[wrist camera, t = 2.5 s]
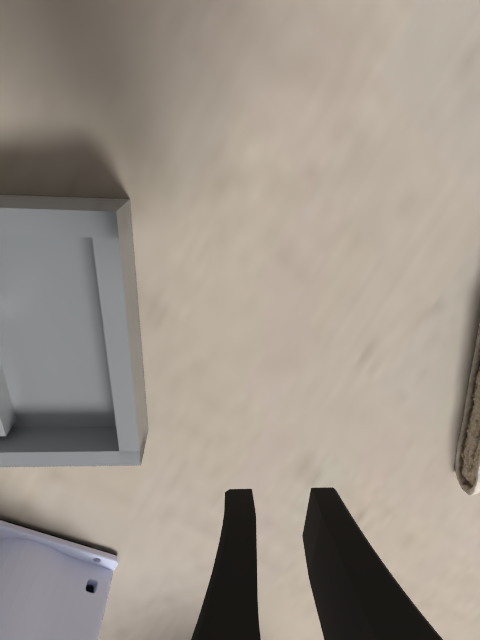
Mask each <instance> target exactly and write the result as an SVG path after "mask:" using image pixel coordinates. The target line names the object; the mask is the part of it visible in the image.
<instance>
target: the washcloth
mask: <svg viewBox="0 0 480 640" xmlns="http://www.w3.org/2000/svg"><path fill="white" fill-rule="evenodd" d="M455 470H456V476H457V479H458V481H459V484H460V486H461V488H462V489H463V491H465V492H466V493H467V494H468V495H474V494H479V495H480V324H479V329H478V336H477V341H476V347H475V350H474V357H473V362H472V367H471V374H470V378H469V385H468V391H467V397H466V403H465V409H464V418H463V422H462V428H461V433H460V436H459V441H458V447H457V453H456V458H455Z"/></svg>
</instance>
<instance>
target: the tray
mask: <svg viewBox="0 0 480 640" xmlns="http://www.w3.org/2000/svg"><path fill="white" fill-rule="evenodd" d="M147 434H148V421H147V408H146V396H145V383H144V371H143V358H142V346H141V333H140V321H139V308H138V296H137V283H136V271H135V258H134V246H133V233H132V221H131V208H130V199H113V198H84V197H56V196H27V195H0V467H51V466H127V465H141V462H142V457H143V453H144V448H145V443H146V439H147Z"/></svg>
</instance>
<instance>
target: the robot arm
mask: <svg viewBox="0 0 480 640" xmlns="http://www.w3.org/2000/svg"><path fill="white" fill-rule="evenodd" d="M303 542H304V549H305V556H306V562H307V568H308V575H309V580H310V584H311V588H312V592H313V596H314V600H315V604H316V608H317V612H318V616H319V620H320V624H321V628H322V632H323V636H324V640H443V639H442V638H441V637H440V636H439V634H438V633H437V632H436V631H435V630H434V628H433V627H432V626H431V625H430V624H429V622H428V621H427V620H426V619H425V617H424V616H423V615H422V614H421V612H420V611H419V610H418V609H417V607H416V606H415V605H414V604H413V602H412V601H411V600H410V598H409V597H408V596H407V595H406V593H405V592H404V591H403V589H402V588H401V587H400V585H399V584H398V583H397V581H396V580H395V579H394V577H393V576H392V575H391V573H390V572H389V570H388V569H387V568H386V566H385V565H384V563H383V562H382V561H381V559H380V558H379V556H378V555H377V553H376V552H375V551H374V549H373V548H372V546H371V545H370V543H369V542H368V540H367V539H366V537H365V536H364V534H363V533H362V531H361V530H360V528H359V527H358V525H357V524H356V522H355V521H354V519H353V517H352V516H351V514H350V513H349V511H348V509H347V508H346V506H345V505H344V503H343V501H342V500H341V498H340V496H339V495H338V493H337V491H336V490H335V489H334V488H311V492H310V498H309V503H308V509H307V515H306V520H305V526H304V531H303ZM118 562H119V558H118V557H117V556H116V555H113V554H109V553H106V552H103V551H100V550H96V549H93V548H90V547H87V546H83V545H80V544H77V543H73V542H70V541H67V540H64V539H60V538H57V537H54V536H50V535H47V534H44V533H41V532H37V531H34V530H31V529H27V528H24V527H21V526H18V525H14V524H11V523H8V522H5V521H1V520H0V640H98V638H99V633H100V629H101V624H102V620H103V615H104V611H105V606H106V602H107V598H108V593H109V589H110V584H111V580H112V575H113V571H114V569H115V568H116V567H117V565H118ZM191 640H261V639H260V630H259V619H258V602H257V548H256V514H255V507H254V500H253V494H252V489H229V490H228V491H227V492H225V511H224V519H223V526H222V531H221V537H220V542H219V546H218V550H217V555H216V559H215V563H214V567H213V571H212V575H211V579H210V582H209V585H208V589H207V592H206V595H205V599H204V602H203V605H202V609H201V612H200V615H199V618H198V621H197V624H196V627H195V630H194V633H193V636H192V639H191Z"/></svg>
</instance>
